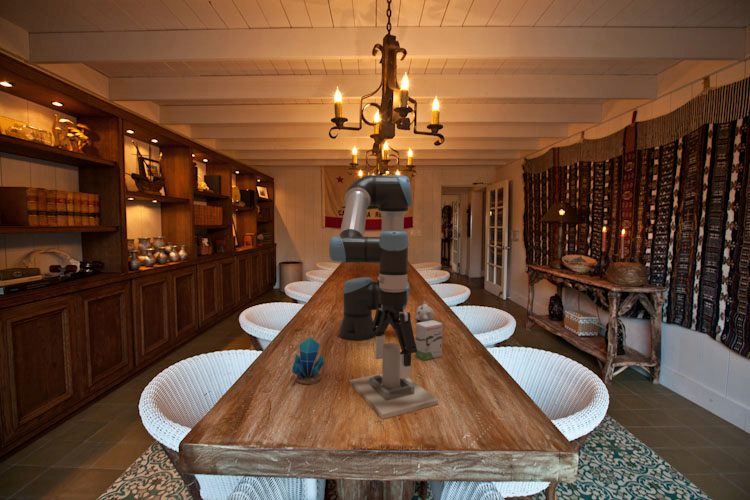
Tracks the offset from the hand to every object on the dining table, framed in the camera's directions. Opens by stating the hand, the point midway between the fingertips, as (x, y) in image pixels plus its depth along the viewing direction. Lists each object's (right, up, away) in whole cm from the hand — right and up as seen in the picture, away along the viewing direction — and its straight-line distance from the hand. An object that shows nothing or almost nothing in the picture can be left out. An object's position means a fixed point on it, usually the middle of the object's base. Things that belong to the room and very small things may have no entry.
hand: (391, 367), depth 94 cm
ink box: (+14, -6, +28) cm, 32 cm away
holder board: (0, -7, 0) cm, 7 cm away
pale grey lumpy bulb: (+19, -2, +71) cm, 74 cm away
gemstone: (-24, -7, +8) cm, 26 cm away
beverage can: (0, -6, 0) cm, 6 cm away
